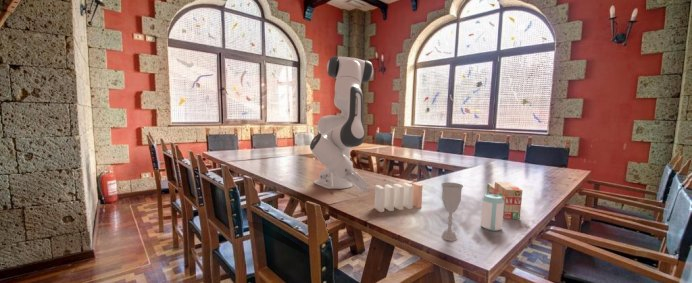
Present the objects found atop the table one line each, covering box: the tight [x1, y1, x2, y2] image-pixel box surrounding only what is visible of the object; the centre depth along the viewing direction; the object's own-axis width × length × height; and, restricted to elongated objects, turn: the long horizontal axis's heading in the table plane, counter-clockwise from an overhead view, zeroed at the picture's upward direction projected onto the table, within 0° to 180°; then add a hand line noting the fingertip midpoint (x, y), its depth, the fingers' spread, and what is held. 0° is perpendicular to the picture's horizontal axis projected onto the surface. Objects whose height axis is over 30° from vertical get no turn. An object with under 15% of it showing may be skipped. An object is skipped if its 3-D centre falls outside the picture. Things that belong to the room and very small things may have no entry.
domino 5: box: [411, 182, 423, 209], centre depth 131 cm, size 2×6×10 cm, turn 19°
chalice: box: [440, 182, 464, 242], centre depth 98 cm, size 7×7×18 cm
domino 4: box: [402, 182, 414, 210], centre depth 130 cm, size 2×6×10 cm, turn 19°
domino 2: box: [384, 183, 395, 212], centre depth 127 cm, size 2×6×10 cm, turn 19°
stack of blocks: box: [486, 181, 523, 221], centre depth 127 cm, size 21×6×12 cm, turn 172°
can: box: [480, 193, 504, 232], centre depth 108 cm, size 7×7×12 cm
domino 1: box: [374, 184, 385, 213], centre depth 125 cm, size 2×6×10 cm, turn 19°
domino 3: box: [393, 183, 404, 211], centre depth 128 cm, size 2×6×10 cm, turn 19°
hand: (364, 189), depth 122 cm, fingers closed
